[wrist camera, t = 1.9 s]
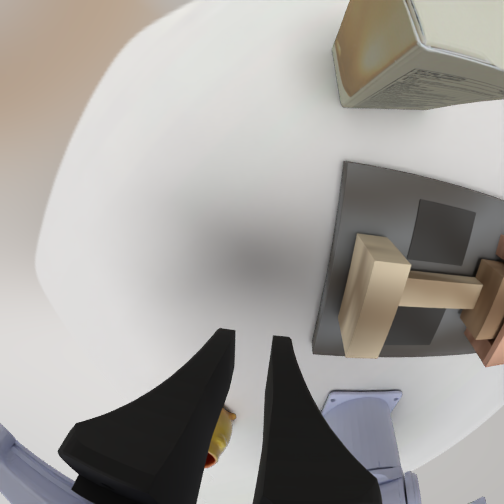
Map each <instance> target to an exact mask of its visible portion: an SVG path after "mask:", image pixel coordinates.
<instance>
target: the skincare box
mask: <svg viewBox="0 0 504 504" xmlns="http://www.w3.org/2000/svg"><path fill="white" fill-rule="evenodd" d="M332 52H333V58H334V65H335V71H336V77H337V83H338V89H339V95H340V101H341V105H342V106H343V107H344V108H377V109H409V110H429V109H434V108H440V107H445V106H451V105H458V104H465V103H472V102H480V101H489V100H500V99H504V0H350V2H349V4H348V7H347V10H346V12H345V15H344V18H343V21H342V23H341V26H340V29H339V32H338V34H337V37H336V40H335V43H334V45H333V48H332Z"/></svg>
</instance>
